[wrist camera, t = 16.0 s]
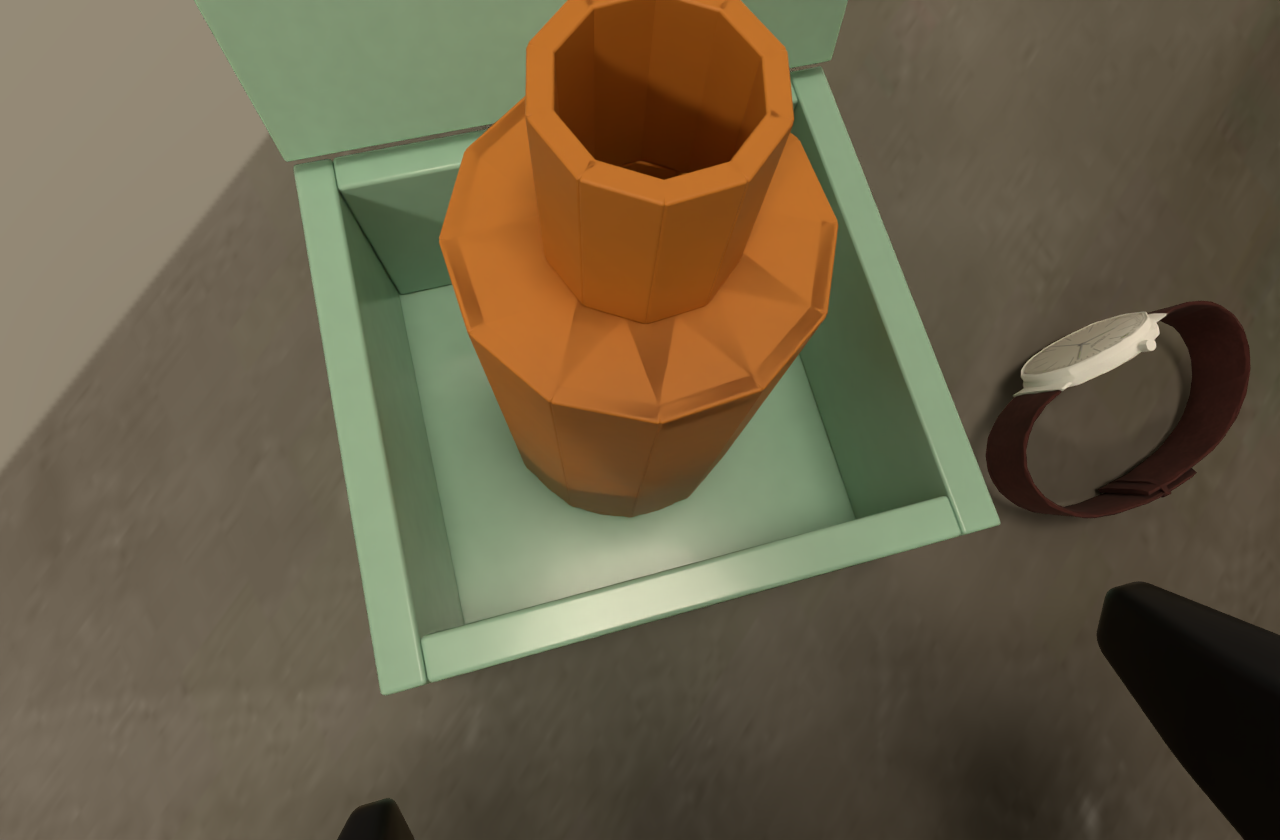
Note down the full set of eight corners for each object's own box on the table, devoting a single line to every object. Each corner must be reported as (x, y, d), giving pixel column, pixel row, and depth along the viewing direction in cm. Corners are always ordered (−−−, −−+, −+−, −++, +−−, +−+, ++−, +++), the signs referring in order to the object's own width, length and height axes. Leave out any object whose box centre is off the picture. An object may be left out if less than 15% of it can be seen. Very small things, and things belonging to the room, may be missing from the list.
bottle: (760, 474, 19) (1014, 236, 7) (551, 547, 18) (475, 405, 7) (684, 286, 20) (799, -164, 9) (486, 345, 20) (329, -64, 8)
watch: (1123, 291, 22) (1222, 227, 18) (1237, 418, 21) (1364, 376, 18) (930, 429, 20) (998, 388, 17) (1043, 572, 20) (1141, 559, 16)
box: (886, 554, 19) (1003, 524, 14) (446, 676, 18) (379, 697, 12) (765, 207, 22) (822, 64, 16) (373, 289, 21) (290, 163, 15)
